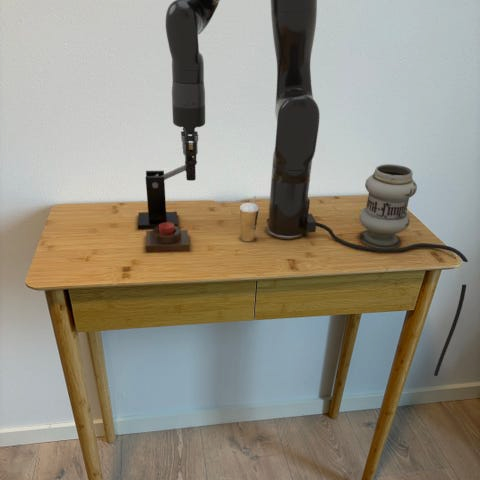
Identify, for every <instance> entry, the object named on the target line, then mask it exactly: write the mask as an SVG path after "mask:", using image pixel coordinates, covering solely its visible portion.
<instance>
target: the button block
mask: <svg viewBox="0 0 480 480" xmlns="http://www.w3.org/2000/svg"><path fill="white" fill-rule="evenodd" d="M174 230H175V232H174V233H173V234H169V235H164V234H160V233H159V226H158V227H156V228H154V229H152V230H146V231H145V252H146V253H169V252H190V240H189V232H188V229H181V228H180V227H179V226H178V227H177V226H174Z"/></svg>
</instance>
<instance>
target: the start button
mask: <svg viewBox="0 0 480 480" xmlns="http://www.w3.org/2000/svg"><path fill="white" fill-rule="evenodd" d="M174 232H175V230H174V224H173V223H170V222H164V223H161V224H159V233H160V234H164V235H169V234H173V233H174Z"/></svg>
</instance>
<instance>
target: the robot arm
mask: <svg viewBox="0 0 480 480" xmlns="http://www.w3.org/2000/svg"><path fill="white" fill-rule="evenodd" d="M220 2H221V0H173V1H172V2H171V3H170V4H169V6H168V7H167V10H166V14H165V33H166V38H167V43H168V48H169V53H170V57H171V78H172V82H171V83H172V86H171V106H172V107H171V108H172V123H173V125H174V126H176V127H179V128H182V131H180V140H181V144H182V145H181V146H182V147H181V148H182V154H183V156H184V165H186V170H185V171H184V172H185V176H186V177H185V178H186V180H187V181H190V182H191V181H196V176H197V175H196V165H197V164H198V161H197V155H198V153H199V152H198V149H199V148H198V142H199V134H198V133H199V132H198V131H197V130H196V129H197V128H201V127H203V126H205V124H206V88H205V63H204V62H205V60H204V56H203V54H202V53H201V52H200V48H199V46H200V45H199V35H200V34H202V33H203V32H204V30H205V29H206V28H207V27H208V25H209V23H210V22H211V20H212V18H213V16H214V14H215V12H216V10H217V9H218V6H219V4H220ZM270 15H271V27H272V28H271V29H272V36H273V45H274V46H273V47H274V53H275V60H276V90H275V91H276V93H275V107H274V114H275V119H276V130H275V131H276V133H275V144H274V151H273V153H272V164H271V166H272V167H271V179H270V190H269V191H270V192H269V205H268V218H267V219H266V224H267V227H266V228H267V229H266V232H267V233H268V235H270V236H272V237H274V238H276V239H280V240H295V239H299V238H302V237H306V236H307V233H316V231H317V227H318V228H321V229H323V230H325V231H327V232H328V234H329V235H330V237H331V239H333V240H335V241H336V242H338V243H340V244H341V245H344V246H346V247H349V248H353V249H358V250H362V251H367V252H375V253H401V252H406V251H409V250H412V249H417V248H429V249H430V248H431V249H439V250H445V251H448V252H452V253H454V254H455V255H457V256H458V257H459V258H460V259H461V260H462V262H464V263H468V262H469V260H468V259H467V257H466V256H465V255H464V254H463V253H462V252H461V251H459V249H457V248H455V247H452V246H449V245H444V244H438V243H425V242H421V243H414V244H410V245H407V246H403V247H394V248H375V247H371V246H368V245H361V244H357V243H353V242H349V241H346V240H343V239H341V238H340V237H338V236H337V235H336V234H335V233H334V231H333V230H332V229H331V227H329V226H327V225H325V224H323V223H322V222H321V223H320V222H318V221H317V220H316V219H315V217H314V215H313V213H310V212H309V211H310V202H311V200H310V198H309V191H310V182H311V173H312V167H313V159H314V157H315V153H316V147H317V143H318V141H317V140H318V135H319V127H320V109H319V106H318V103H317V101H316V100H315V99H314V94H313V87H312V75H311V74H312V73H311V62H312V61H311V60H312V59H311V58H312V52H313V46H314V42H315V35H316V29H317V18H318V0H270ZM189 159H191V160H189ZM466 291H467V284H462V285H461V290H460V295H459V300H458V304H457V308H456V312H455V315H454V318H453V320H452V324H451V327H450V330H449V332H448V335H447V338H446V340H445V342H444V345H443V348H442V350H441V353H440V355H439V358H438V361H437V364H436V367H435V369H434V373H433V376H434V377H438V375H439V372H440V370H441V367H442V363H443V360H444V358H445V355H446V353H447V350H448V348H449V345H450V342H451V340H452V338H453V335H454V333H455V331H456V330H455V329H456V327H457V324H458V322H459V319H460V315H461V312H462V308H463V305H464V302H465V301H464V300H465V296H466Z"/></svg>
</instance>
